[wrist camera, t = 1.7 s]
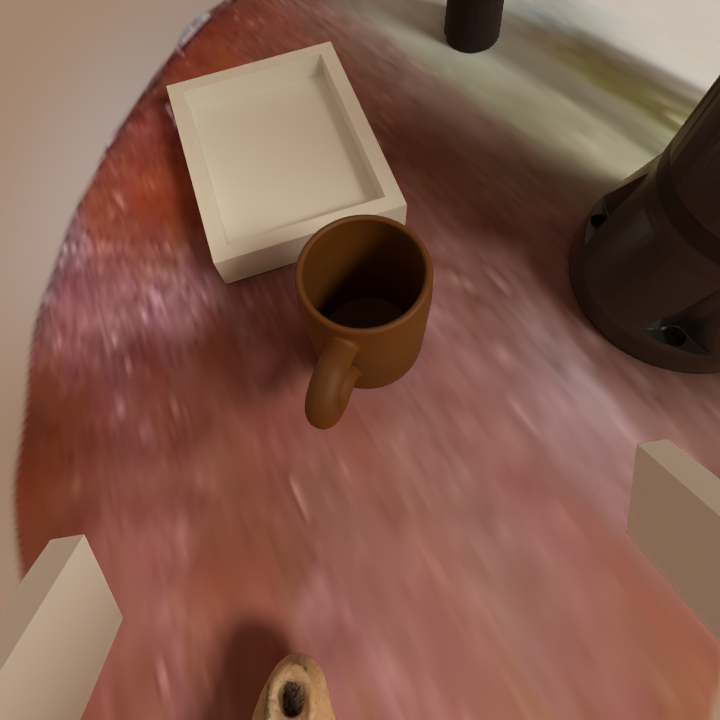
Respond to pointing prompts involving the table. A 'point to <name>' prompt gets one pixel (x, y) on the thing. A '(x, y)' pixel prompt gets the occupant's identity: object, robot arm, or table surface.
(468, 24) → the butter churn
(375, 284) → the mug
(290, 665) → the pottery oil lamp
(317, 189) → the tray
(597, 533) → the table surface
